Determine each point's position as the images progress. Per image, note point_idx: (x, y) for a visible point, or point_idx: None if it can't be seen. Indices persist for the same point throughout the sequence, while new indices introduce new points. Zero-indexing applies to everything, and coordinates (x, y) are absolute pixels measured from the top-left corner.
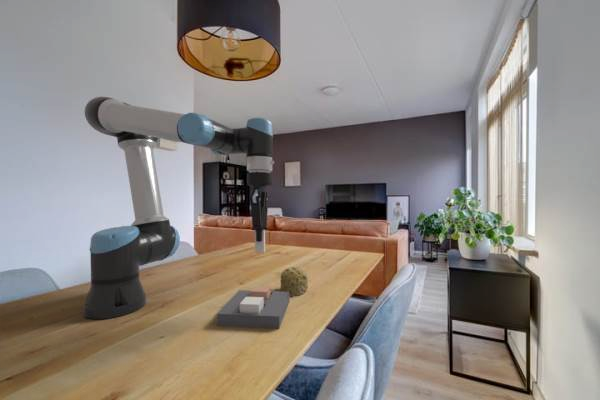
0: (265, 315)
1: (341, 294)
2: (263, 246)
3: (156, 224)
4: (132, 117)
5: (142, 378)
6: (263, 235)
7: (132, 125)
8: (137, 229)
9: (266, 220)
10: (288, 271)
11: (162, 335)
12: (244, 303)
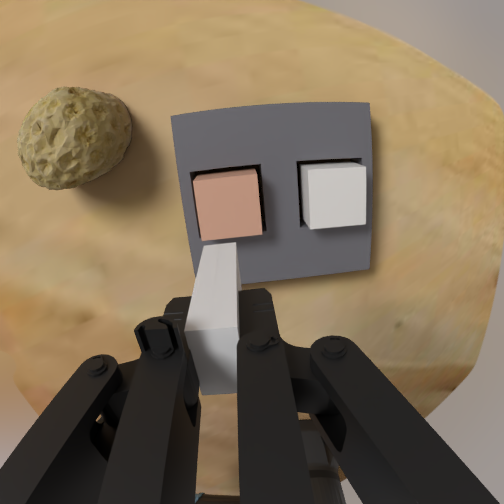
0: (370, 140)
1: None
2: (235, 261)
3: None
4: None
5: (482, 274)
6: (237, 302)
7: None
8: None
9: (75, 400)
10: (74, 152)
11: (393, 327)
12: (361, 212)
